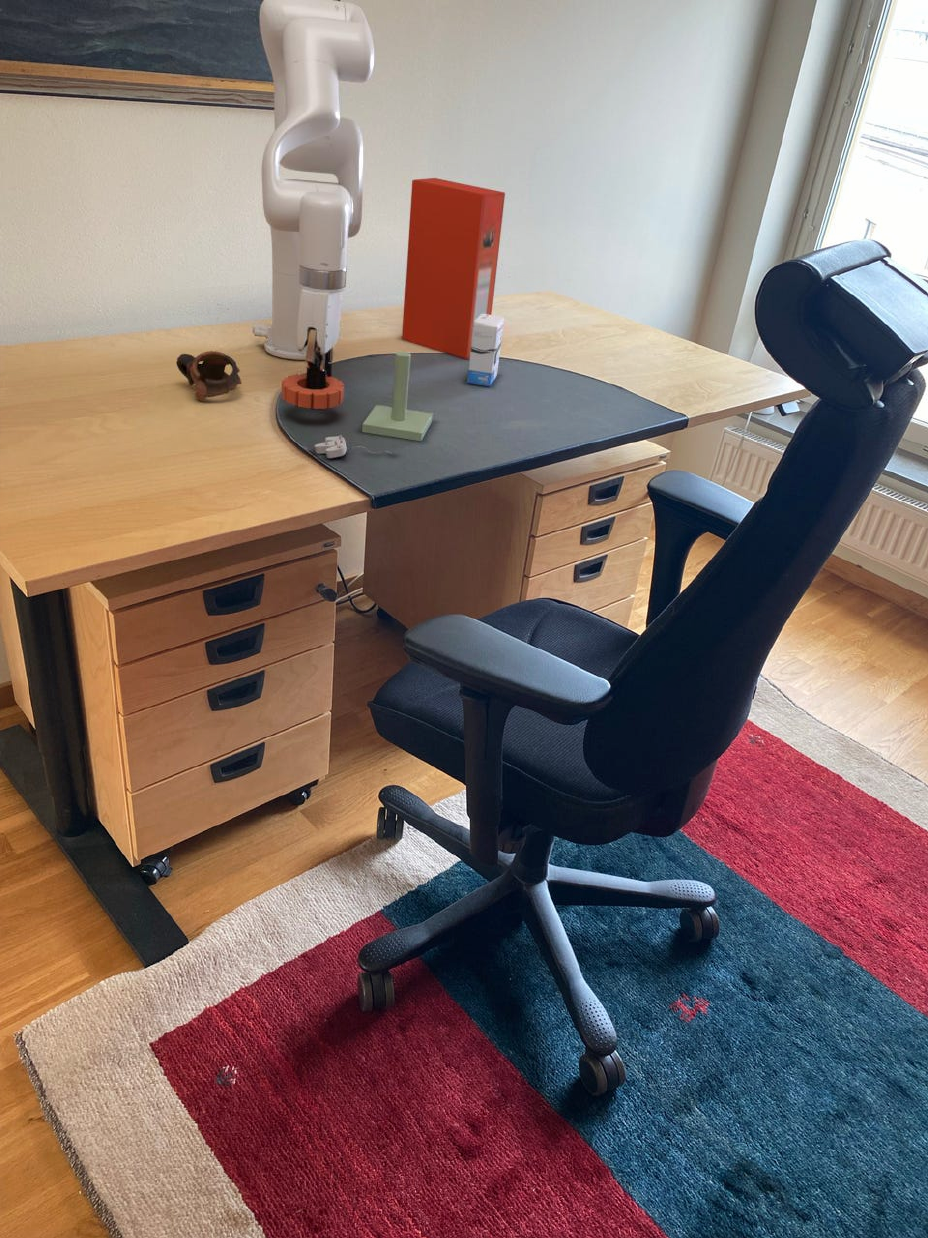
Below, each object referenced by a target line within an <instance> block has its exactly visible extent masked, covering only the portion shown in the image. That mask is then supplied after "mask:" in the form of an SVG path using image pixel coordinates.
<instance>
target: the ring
mask: <svg viewBox="0 0 928 1238" xmlns="http://www.w3.org/2000/svg"><path fill="white" fill-rule="evenodd" d="M306 382H307V372H305V373H304V372H303V373H300V374H299V373H294V374H291V375H288V376H286V377H284V378H283V379H282V381H281V397H282V399H283V401H285V402H286V403H288V404H290V405H292V406H297V407H298V408H304V409H312V408H313V409H314V410H319V409H320V410H321V409H324V410H325V409H327V408H329V409H331V408H335V407H338V406H339V405H341V404H342V403H343V402H344V399H345V384H344V383H343V381H342V380H340V379H338V378H336V377H333V376H332V377H331V376H330V377H328V375H326V388H324V389H316V390H312V389H306Z"/></svg>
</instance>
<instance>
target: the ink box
mask: <svg viewBox="0 0 928 1238" xmlns="http://www.w3.org/2000/svg"><path fill="white" fill-rule="evenodd" d="M505 319H506V318H505V317H502V316H498V315H493V314H491V315H488V314H481V315H479V317H478V318H477V319H476V320H475V321H474V324H473V333H472V342H471V351H470V359H468V360H469V361H468V362H469V363H468V368H467V377H466V383H467V384H471V385H476V386H477V385H478V386H484V387H489V388H490V387H491V386H492V384H493V383H494V381H495V380H496V377H497V376H498V369H499V361H500V353H501V346H502V338H503V332H504V326H505V325H504V324H505Z"/></svg>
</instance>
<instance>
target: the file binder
mask: <svg viewBox="0 0 928 1238" xmlns="http://www.w3.org/2000/svg"><path fill="white" fill-rule="evenodd" d="M410 192H411V193H410V205H409V207H410V208H409V209H410V210H409V223H408V239H407V253H406V254H407V255H406V268H405V269H406V270H405V287H404V301H403V303H404V304H403V315H402V317H403V318H402V329H401V330H402V332H401V339H402V340H403V341H406V342H409V343H412V344H416V345H418V346H422V347H426V348H428V349H432V350H435V351H439V352H442V353H444V354H448V355H451V356H455V357H458V358H461V359H464V360H469V359H470V351H471V342H472V333H473V324H474V321H475V320H476V319H477V318H478V317H479V315H481V314H488V315H492V313H493V306H494V305H493V303H494V294H495V288H496V287H495V286H496V277H497V269H498V259H499V249H500V244H501V243H500V241H501V234H502V224H503V214H504V206H505V197H506V192H504V191H500V190H495V189H490V188H486V187H485V188H484V187H481V186H475V185H472V184H466V183H462V182H456V181H451V180H447V179H443V178H438V177H430V178H427V177H426V178H416V179H413V180H411V191H410Z"/></svg>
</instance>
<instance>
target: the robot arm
mask: <svg viewBox="0 0 928 1238" xmlns="http://www.w3.org/2000/svg"><path fill="white" fill-rule="evenodd" d="M259 30H260V36H261V41H262V46H263V49H264V53H265V57H266V59H267V62H268V65H269V68H270V72H271V77H272V81H273V100H274V104H273V105H274V112H273V113H274V114H273V115H274V131H273V132H272V133H271V135H270V137H269V139H268V141H267V143H266V145H265V147H264V151H263V154H262V159H261V192H262V194H261V195H262V197H261V198H262V209H263V215H264V218H265V221H266V223H267V224H268V226H269V229H270V237H271V264H272V265H271V270H272V271H271V272H272V273H271V275H272V276H271V280H272V281H271V284H272V285H271V286H272V287H271V289H272V293H271V296H272V297H271V299H272V301H271V303H272V304H271V305H272V306H271V307H272V309H271V311H272V312H271V314H272V316H271V318H272V319H271V320H272V321H271V322H272V323H271V324H268V325H264V324H261V323H253V324H252V334H254V337H260V338H261V337H262V338H265V339H266V340H265V342H264V344H263V349H264V351H265V352H266V353H268V354H269V355H272V356H274V357H277V358H281V359H286V360H287V359H288V360H298V361H305V363H306V373H307V382H306V389H312V390H316V389H324V388H326V375H328V377H330V376H331V377H333V358H334V357H333V353H334V346H335V345H336V344H337V342H338V341H339V339H340V334H341V318H342V317H341V316H342V314H341V312H342V305H341V304H342V301H341V300H342V298H341V297H342V295H341V293H342V292H344V291H346V288H347V270H348V269H347V267H348V266H347V265H348V247H349V245H348V243H349V238H350V239H351V238H353V237H355V236H357V235H358V233H359V232H360V229H361V227H362V220H363V219H362V218H363V189H364V188H363V187H364V140H363V134H362V131H361V128H360V126H359V125H358V123H357V122H356V121H355V120H353V119H351V118H348V117H343V116H341V110H340V108H341V107H340V95H339V91H340V90H339V81H342V82H348V83H349V82H350V83H359V84H360V83H361V84H362V83H365V82H367V81H368V80H369V79H370V78H371V76H372V74H373V70H374V66H375V45H374V37H373V33H372V30H371V27H370V25H369V22H368V20H367V17H366V15H365V13H364V11H363V9H362V8H361V7H360V6H359V5H357V4H356V3H353V2H349V1H341V0H262V2H261V4H260V8H259ZM280 166H281V167H283V168H284V169H286V170H289V171H295V172H301V173H302V172H304V173H314V174H315V173H316V174H328V175H333V176H335V177H336V178H337V182H332V181H330V182H329V181H320V180H310V179H300V178H299V179H298V178H293V179H292V178H287V179H281V177H280Z"/></svg>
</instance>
